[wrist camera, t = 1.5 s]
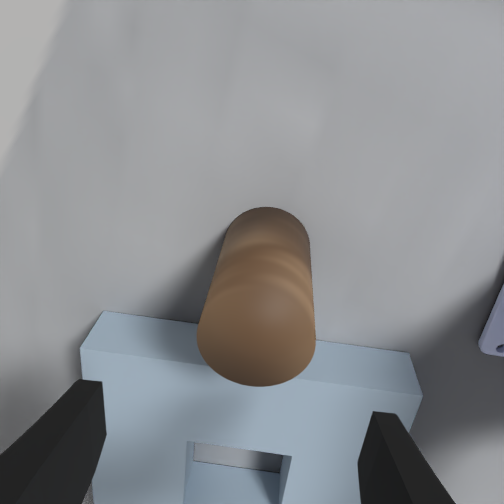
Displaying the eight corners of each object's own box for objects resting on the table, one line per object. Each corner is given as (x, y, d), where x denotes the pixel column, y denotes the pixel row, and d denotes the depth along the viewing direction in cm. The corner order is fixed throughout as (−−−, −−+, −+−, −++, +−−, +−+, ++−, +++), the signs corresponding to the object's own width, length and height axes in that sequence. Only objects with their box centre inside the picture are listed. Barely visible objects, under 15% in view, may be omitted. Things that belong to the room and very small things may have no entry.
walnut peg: (316, 213, 21) (326, 300, 14) (302, 288, 22) (305, 394, 16) (227, 201, 21) (199, 283, 14) (221, 277, 23) (193, 378, 16)
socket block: (408, 353, 24) (423, 396, 21) (345, 534, 31) (350, 583, 29) (103, 310, 24) (79, 347, 21) (114, 500, 32) (97, 545, 29)
